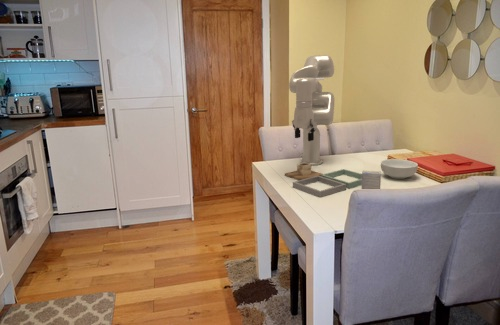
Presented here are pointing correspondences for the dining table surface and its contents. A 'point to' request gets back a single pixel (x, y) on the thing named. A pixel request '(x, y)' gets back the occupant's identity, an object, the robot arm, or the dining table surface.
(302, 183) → the grey rectangular frame
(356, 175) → the green tray
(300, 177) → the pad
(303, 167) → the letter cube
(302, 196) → the dining table surface
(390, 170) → the cereal bowl
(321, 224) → the dining table surface
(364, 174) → the medicine box
